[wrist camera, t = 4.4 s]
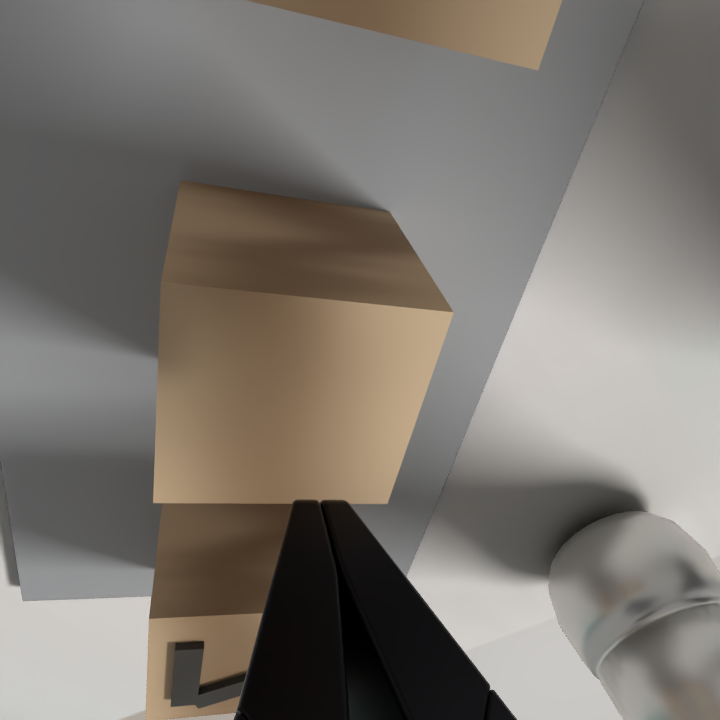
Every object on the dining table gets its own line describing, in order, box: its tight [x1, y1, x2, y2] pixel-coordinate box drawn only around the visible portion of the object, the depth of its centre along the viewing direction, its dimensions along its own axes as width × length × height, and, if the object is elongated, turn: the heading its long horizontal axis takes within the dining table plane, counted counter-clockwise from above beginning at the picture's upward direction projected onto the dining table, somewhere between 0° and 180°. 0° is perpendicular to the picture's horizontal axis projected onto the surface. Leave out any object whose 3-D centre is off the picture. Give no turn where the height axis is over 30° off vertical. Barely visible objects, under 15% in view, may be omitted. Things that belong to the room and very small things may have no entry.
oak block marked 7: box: [146, 503, 292, 720], centre depth 18 cm, size 5×5×5 cm
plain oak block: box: [153, 180, 454, 504], centre depth 13 cm, size 5×5×5 cm
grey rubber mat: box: [0, 0, 644, 601], centre depth 15 cm, size 14×26×1 cm, turn 167°
